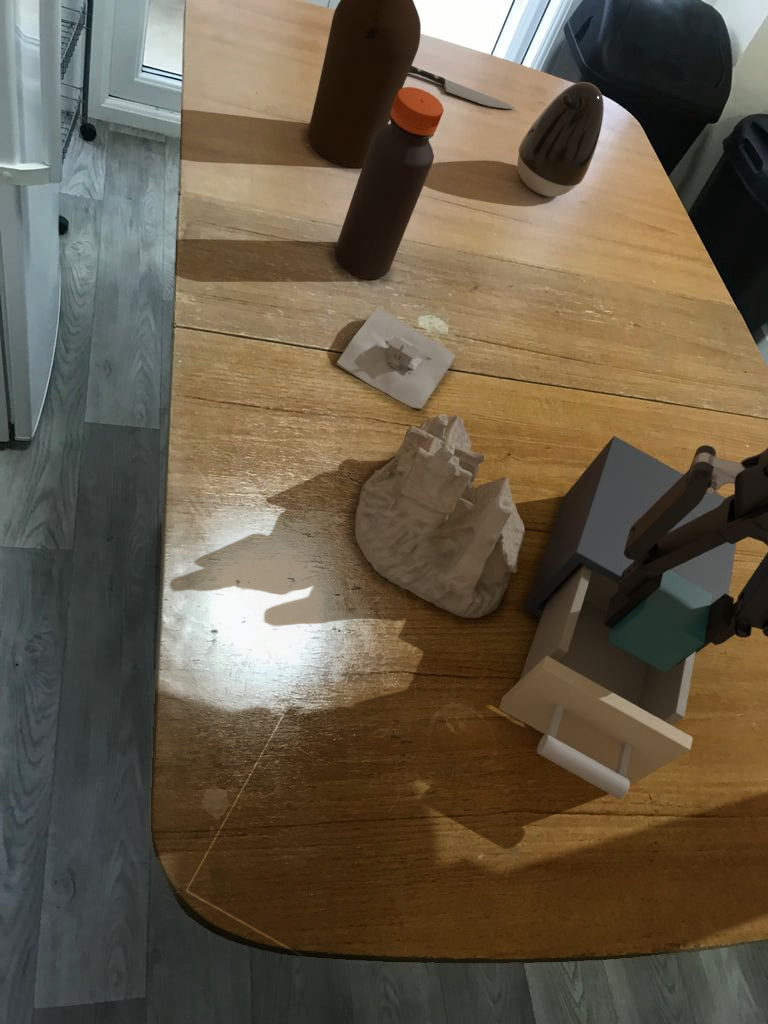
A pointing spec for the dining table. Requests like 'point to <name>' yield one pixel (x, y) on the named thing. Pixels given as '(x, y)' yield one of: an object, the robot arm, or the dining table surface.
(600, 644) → the drawer
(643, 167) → the dining table surface
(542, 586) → the cabinet
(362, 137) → the olive oil
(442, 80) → the chef's knife
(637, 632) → the block
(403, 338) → the grey tile
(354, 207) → the bottle
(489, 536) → the castle ruin model
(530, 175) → the two-tone egg figure
